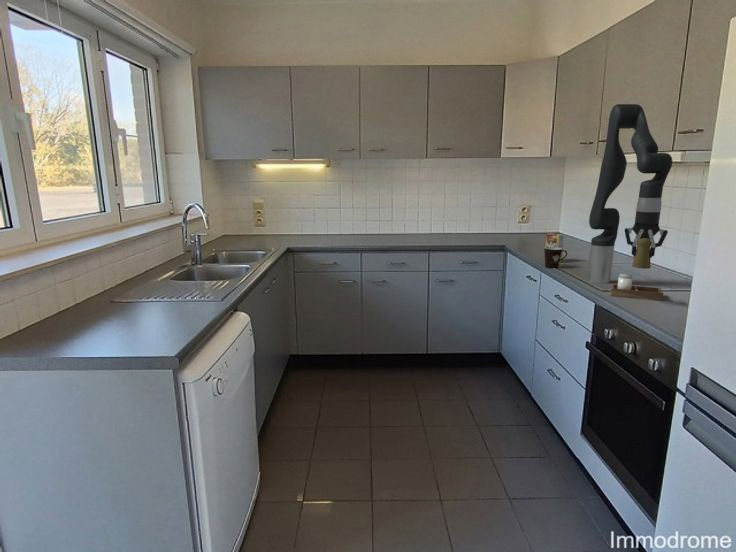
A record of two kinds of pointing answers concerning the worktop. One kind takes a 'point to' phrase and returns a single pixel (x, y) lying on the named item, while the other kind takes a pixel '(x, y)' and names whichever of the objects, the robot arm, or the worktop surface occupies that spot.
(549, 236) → the candy box
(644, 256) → the cork
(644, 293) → the spice caddy
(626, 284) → the salt shaker
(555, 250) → the coffee mug
